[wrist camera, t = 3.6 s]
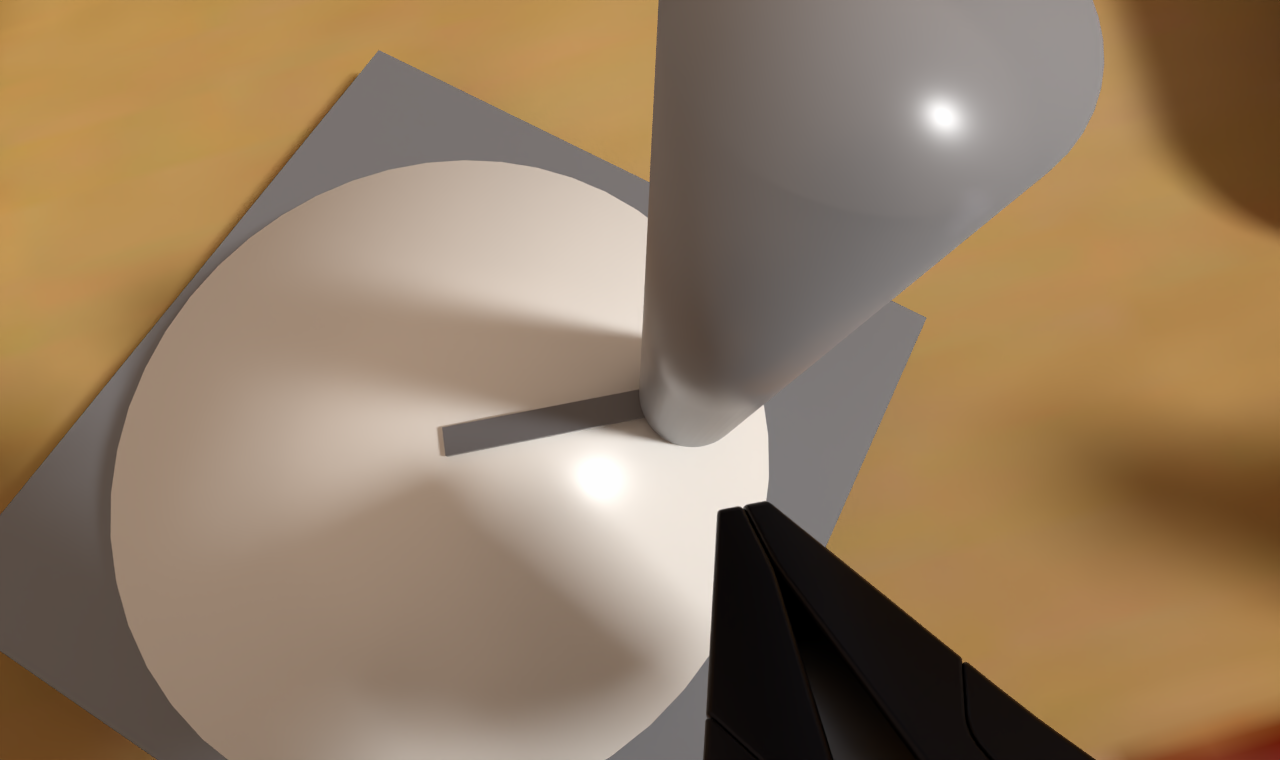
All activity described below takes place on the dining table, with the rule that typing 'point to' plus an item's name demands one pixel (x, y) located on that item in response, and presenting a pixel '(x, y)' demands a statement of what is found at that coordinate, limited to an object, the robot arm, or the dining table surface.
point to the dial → (551, 384)
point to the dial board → (331, 156)
